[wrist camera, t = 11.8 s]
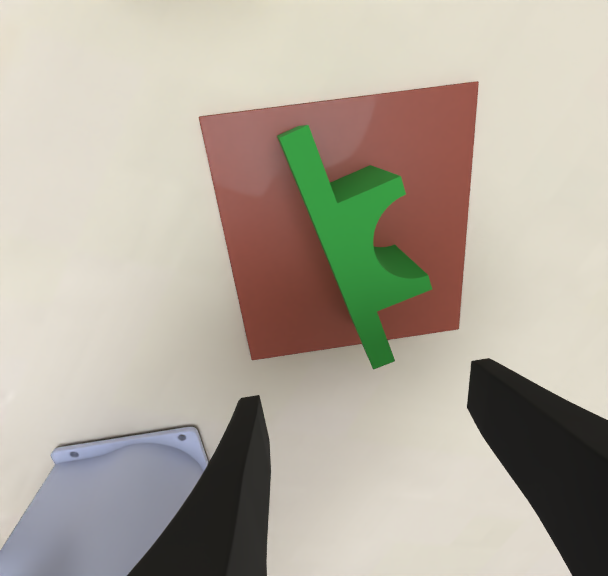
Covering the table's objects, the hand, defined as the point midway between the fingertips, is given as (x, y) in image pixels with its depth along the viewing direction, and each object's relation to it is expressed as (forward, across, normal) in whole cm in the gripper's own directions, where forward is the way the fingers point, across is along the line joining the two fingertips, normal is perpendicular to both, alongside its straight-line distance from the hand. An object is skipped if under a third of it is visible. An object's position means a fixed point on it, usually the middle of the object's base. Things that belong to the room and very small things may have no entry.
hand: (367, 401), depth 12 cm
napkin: (+9, -2, -3) cm, 10 cm away
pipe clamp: (+9, -2, -3) cm, 10 cm away
